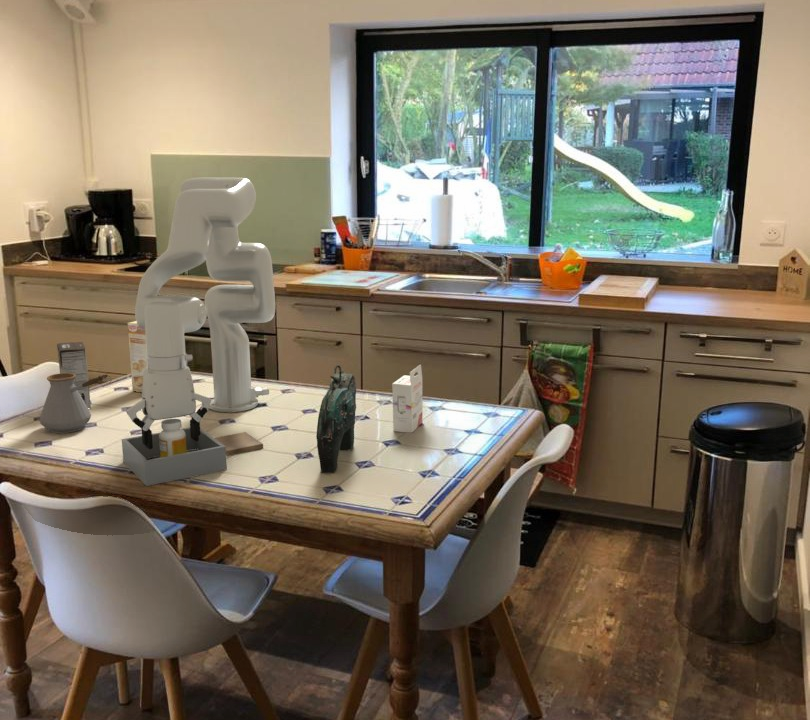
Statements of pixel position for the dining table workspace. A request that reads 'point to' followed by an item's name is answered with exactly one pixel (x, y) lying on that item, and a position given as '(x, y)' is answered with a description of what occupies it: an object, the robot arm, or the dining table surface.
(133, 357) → the coffeecake box
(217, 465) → the bin
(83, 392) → the coffee box
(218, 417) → the dining table surface
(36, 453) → the dining table surface
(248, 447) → the walnut board
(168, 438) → the supplement bottle
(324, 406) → the green animal figurine
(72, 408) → the coffee pot
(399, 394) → the ink cartridge box
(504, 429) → the dining table surface
